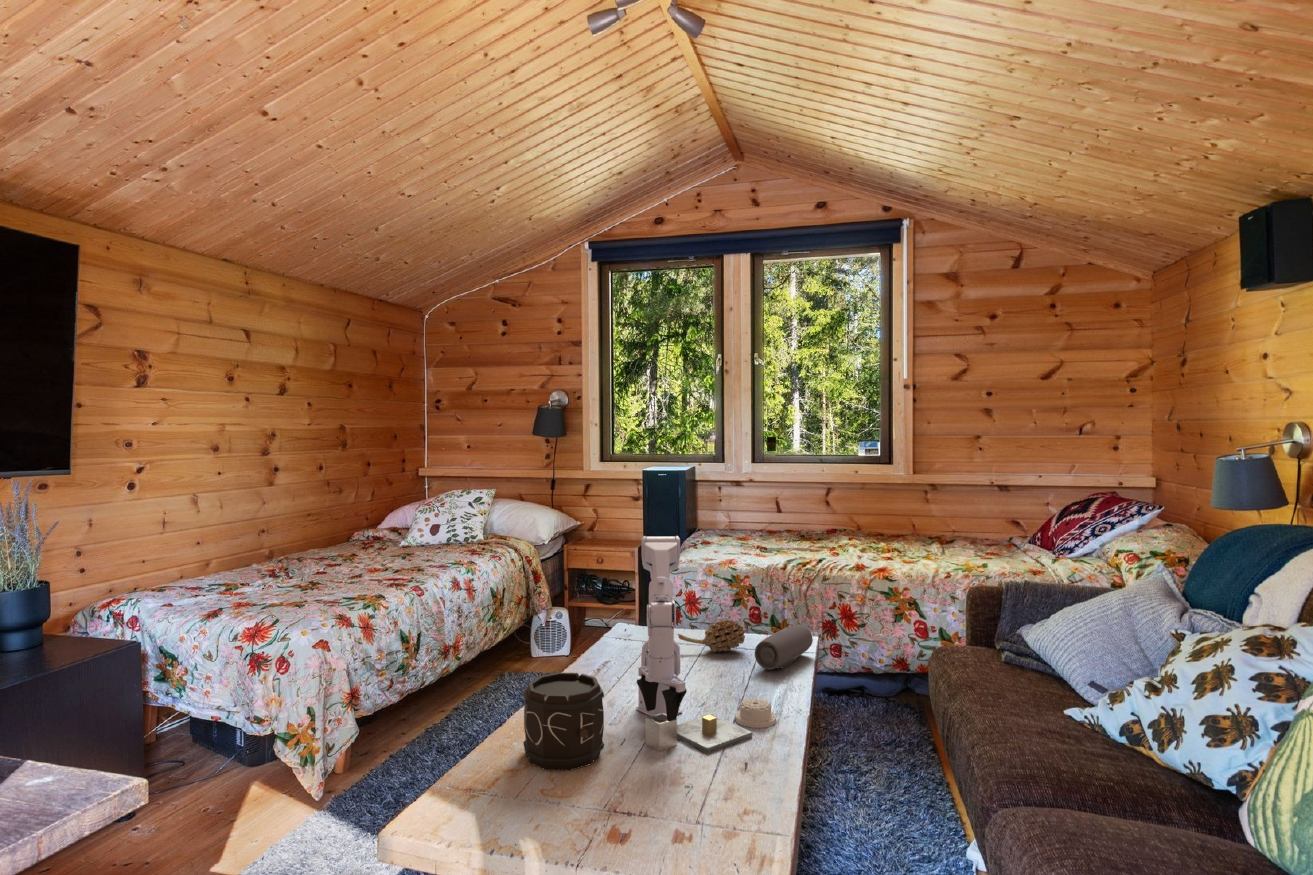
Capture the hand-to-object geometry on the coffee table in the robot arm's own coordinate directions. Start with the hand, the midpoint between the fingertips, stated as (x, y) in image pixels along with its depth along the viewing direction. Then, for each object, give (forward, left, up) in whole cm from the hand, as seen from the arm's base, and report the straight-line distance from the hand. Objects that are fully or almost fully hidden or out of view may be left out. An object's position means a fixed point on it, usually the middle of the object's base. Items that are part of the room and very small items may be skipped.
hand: (661, 714), depth 173 cm
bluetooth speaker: (-22, +66, -7) cm, 70 cm away
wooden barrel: (-9, -20, -7) cm, 23 cm away
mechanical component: (+3, +27, -7) cm, 28 cm away
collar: (0, 0, -7) cm, 7 cm away
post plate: (+3, +12, -7) cm, 14 cm away
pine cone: (-44, +56, -7) cm, 72 cm away
